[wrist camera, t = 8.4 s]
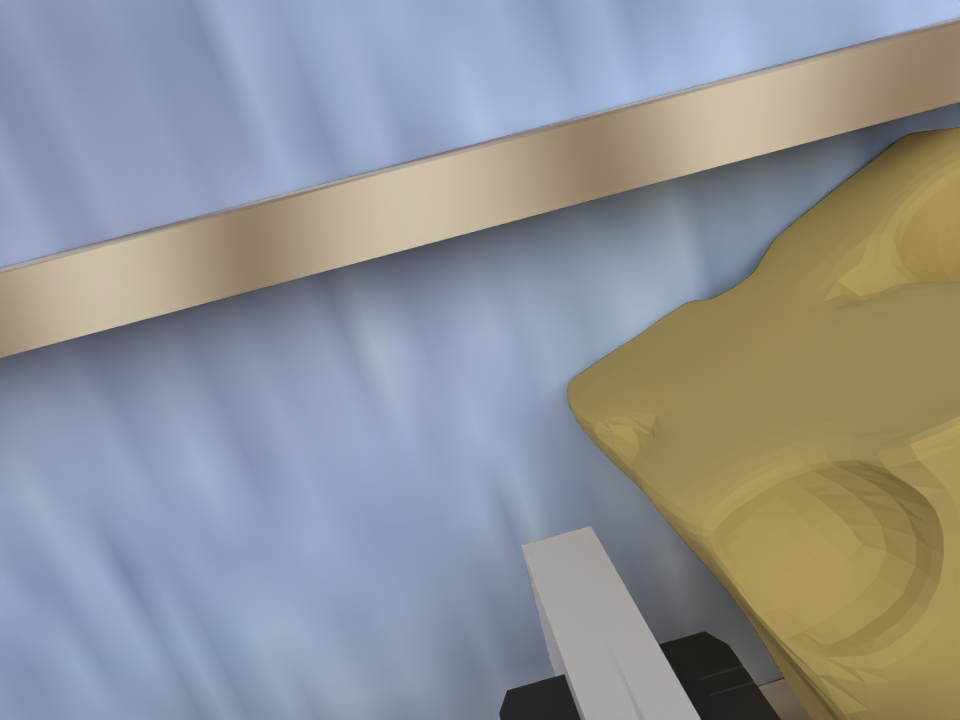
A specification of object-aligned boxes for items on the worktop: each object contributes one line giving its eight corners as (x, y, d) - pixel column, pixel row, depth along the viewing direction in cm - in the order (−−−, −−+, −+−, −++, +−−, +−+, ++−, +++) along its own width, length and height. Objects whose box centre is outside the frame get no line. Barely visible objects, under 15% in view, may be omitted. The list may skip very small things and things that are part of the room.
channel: (15, 960, 23) (-102, 1235, 17) (-296, 345, 19) (-595, 441, 13) (1287, 574, 25) (1561, 707, 19) (1287, -68, 21) (1647, -147, 15)
